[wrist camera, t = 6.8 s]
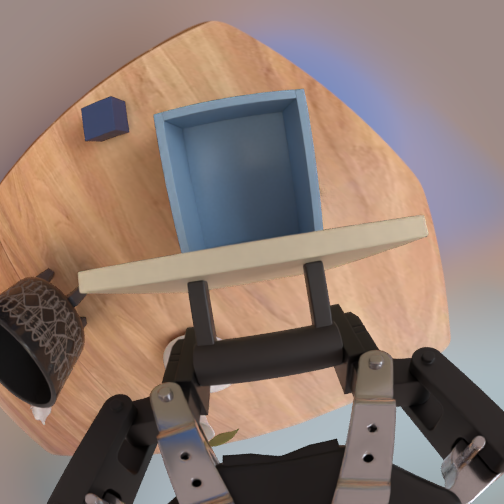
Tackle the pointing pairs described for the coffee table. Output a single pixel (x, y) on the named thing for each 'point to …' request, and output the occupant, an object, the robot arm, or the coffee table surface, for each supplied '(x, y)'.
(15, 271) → the coffee table surface
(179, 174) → the light blue open box
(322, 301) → the lid
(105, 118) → the block
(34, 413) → the figurine
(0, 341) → the planter
